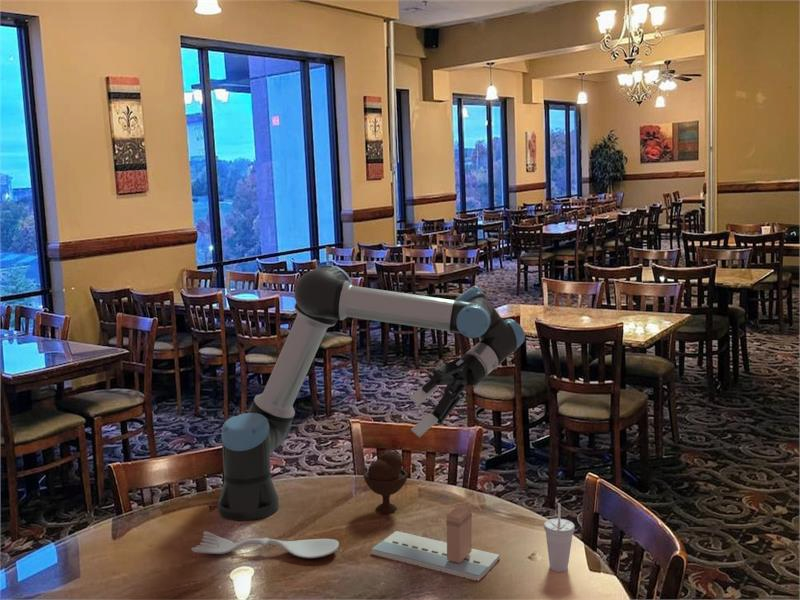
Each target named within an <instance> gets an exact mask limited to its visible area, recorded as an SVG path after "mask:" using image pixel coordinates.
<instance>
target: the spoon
mask: <svg viewBox="0 0 800 600" xmlns="http://www.w3.org/2000/svg"><path fill="white" fill-rule="evenodd" d="M201 541H202V542H199V544H198V545H196V546H194V547H191V551H192V552H194V553H198V554H214V555H223V554H224V555H225V554H227V553H228V554H229V553H231V552H233V551H235V550H237V549H239V548H241V547H244V546H247V545H261V546H267V545H275V546H278V547H281V548H282V549H284V550H285V551H287V552H288V553H289V554H291V555H292V556H296V557H299V558H303V559H319V558H323V557H326V556H328V555H331V554H333V553H335V552H336V551H337V550H338V549H339V548H340V547H339V545H340V542H339V540H337V539H333V538H316V539H315V538H313V539H309V538H308V539H299V540H280V539H274V538H273V539H272V538H270V537H263V538H248V539H245V540H242V541H240V542H237V543H236V542H233V541H231V540H229V539H227V538H224V537H220V536H219V535H216V534H215V533H212V532H210V531H203V536H202V538H201Z"/></svg>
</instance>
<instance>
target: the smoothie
mask: <svg viewBox="0 0 800 600" xmlns="http://www.w3.org/2000/svg"><path fill="white" fill-rule="evenodd" d="M561 506H562V505H561V503H557V518H551V519H547V520H546V521H544V524H543V529H544V531H545V538H546V545H547V546H546V547H547V553H548V562H549V563H548V564H549V569H550V570H552V571H554V572H557V573H562V572H566V571H567V570H568V568H569V563H570V562H569V561H570V555H571V547H572V543H573V542H572V540H573V533H575V531H576V529H575V526H576V525H575V524H574V523H573V522H572V521H571V520H568V519H564V518H561V515H562V513H561V510H562V509H561V508H562V507H561Z"/></svg>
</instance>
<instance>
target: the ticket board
mask: <svg viewBox="0 0 800 600" xmlns="http://www.w3.org/2000/svg"><path fill="white" fill-rule="evenodd" d="M371 555H374V556H377V557H382V558H385V559H389V560H394V561H397V560H398V561H399V562H402V563H405V562H406V564H410V565H414V566H417V565H418V567H421V568H425V569H430V570H433V571H438V572H440V571H441V573H444V574H445V573H446V574H449V575H453V576H457V577H462V578H464V577H465V578H464V579H469V580H472V581H476V580H477V582H480V581H481V580H482V579H483V578H484V577H485V576H486V574H487V573H488V572H489V571H490V570H491V569H492V568H493V567H494V566H495V565H496V564H497V563H496V562H497V561H498V560H499V561H500V559H501V558H500V557H501V555H500V554H496V553H494V552H488V551H485V550H480V549H475V548H472V552H471V553H470V554H468V555H467V556H466V557H465V558H464V559H463V560H462V561H461V562H460V563H458V562H454V561H450V560H447V541H441V540H437V539H432V538H429V537H424V536H420V535H415V534H411V533H406V532H402V531H398V530H395V531H394V532H393V533H391V534H390V535H389V536H387V537H386V538H385V539H384V540H381V541H380V542H378V543H376V545H375V546H373V547H372V548H371ZM398 561H397V562H398ZM499 561H498V562H499ZM495 563H496V564H495ZM481 578H482V579H481ZM480 579H481V580H480ZM479 580H480V581H479Z"/></svg>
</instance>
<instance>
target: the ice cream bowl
mask: <svg viewBox="0 0 800 600" xmlns="http://www.w3.org/2000/svg"><path fill="white" fill-rule="evenodd" d="M403 465H404V463H403V459H402V457H401V455H400V454H398V453H397V452H394V451H391V450H389V451H385V452H383V453H382V454H381V455H380V456H379V458H378V459H376V460H375V461H374V462H373V463H371V464H370V465H368V469H367V470H366V471H365V472H364V473H363V478H364V482H365V483H366V485H367V486H368V487H369V489H370V490H371V491H372V492H374V493H375V494H377V495H380V496H381V497H382V503H380V504H378V505H377V506H376V507H375V509H374V510H375V512H376V513H377V514H380V515H390V513H391V514H394V513H393V512H395V511H396V510H397V511H398V507H397V506H396V505H395V504H393V503H391V501H390V497H391V496H392V495H395V494H396V493H397V492H399V491H400V490H401V489H402V488H403V486H404V485H405V484H406V482H407V480H408V476H409V473H408V472H407V470H405V468H403ZM397 511H396V512H397ZM396 512H395V513H396Z"/></svg>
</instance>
